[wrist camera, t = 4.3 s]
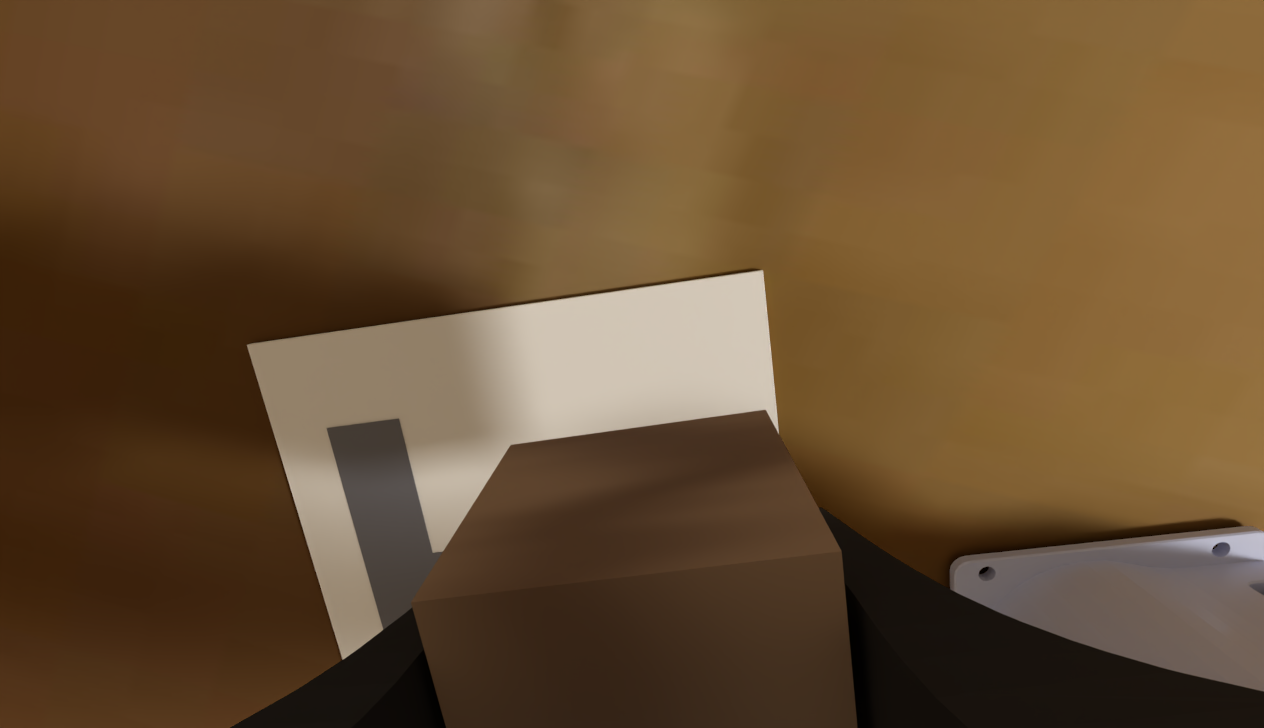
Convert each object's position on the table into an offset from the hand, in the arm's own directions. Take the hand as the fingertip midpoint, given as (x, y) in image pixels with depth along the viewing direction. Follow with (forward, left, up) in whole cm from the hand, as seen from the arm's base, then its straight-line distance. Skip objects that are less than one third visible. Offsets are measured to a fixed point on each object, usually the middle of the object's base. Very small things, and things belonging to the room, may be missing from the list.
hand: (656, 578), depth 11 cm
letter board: (+4, +5, -8) cm, 11 cm away
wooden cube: (0, 0, -1) cm, 1 cm away
